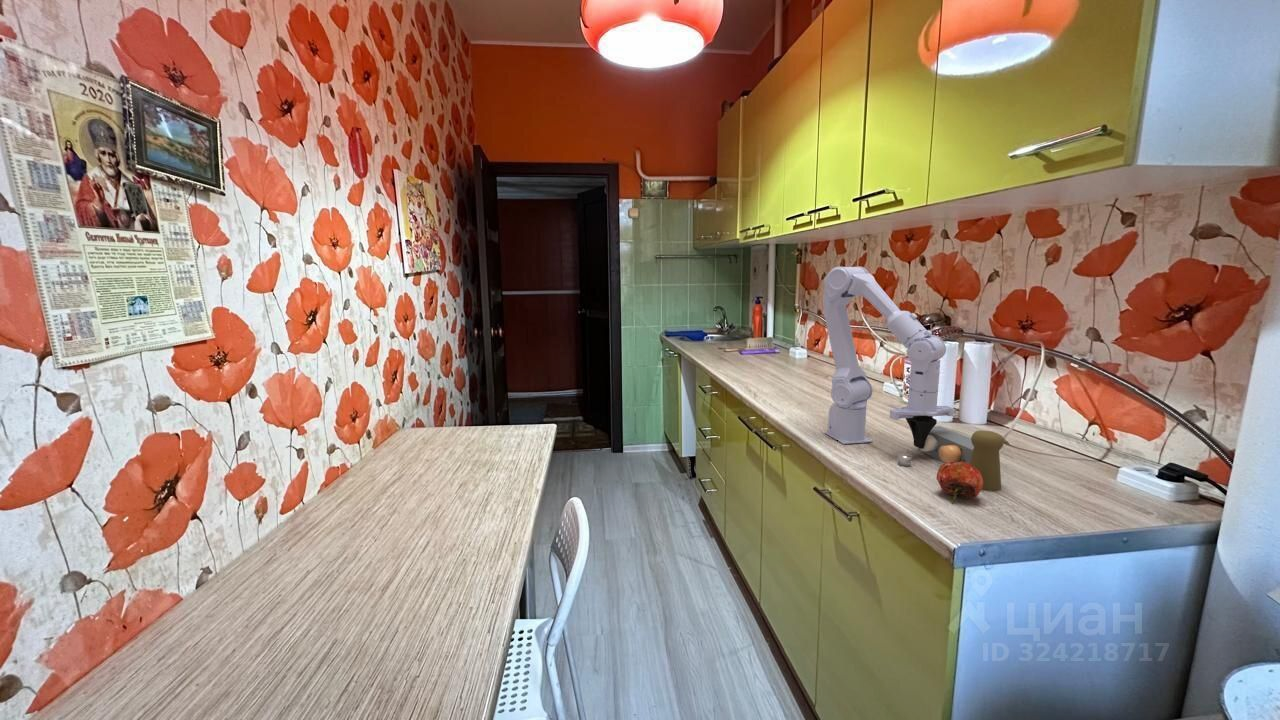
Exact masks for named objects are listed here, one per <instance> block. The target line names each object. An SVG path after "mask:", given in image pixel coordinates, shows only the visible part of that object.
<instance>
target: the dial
mask: <svg viewBox="0 0 1280 720" xmlns="http://www.w3.org/2000/svg"><path fill="white" fill-rule="evenodd" d="M897 456H898V457H897V465H898V466H899V465H900V467H902V466H903V468H910V467H912V459H913V457H912V455H911V454H908V453H899V454H898V455H897Z"/></svg>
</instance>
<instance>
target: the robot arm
mask: <svg viewBox="0 0 1280 720" xmlns="http://www.w3.org/2000/svg"><path fill="white" fill-rule="evenodd" d="M823 284H824V293H823V298H822V309H823V315H824V318H825V323H826V329H827V333H828V338H829V343H830V347H831V351H832V357H833V363H834V365H835V367H834V368H835V372H834V373H833V375H832V377H831V390H830V396H831V398H832V401H833V403H831V405H830V407H829V409H828V419H827V420H828V422H827V424H828V425H827V430H826V431H824V434H826V435H827V436H830V437H831V438H832V439H834V440H836V441H837V440H838V442H839V443H841V444H843V445H850V444H851V445H852V444H863V443H872V442H873V440H872V438H869V437H867V436H866V421H867V404H868V400H869V399H870V398H871V397H872V395H873V393H874V391H873V386H872V383H871V382H870V381H869V379H868V377H867V373H866V371H865V370H863V368H861V367H860V365H859V361H858V356H857V352H856V348H855V343H854V338H853V332H852V329H851V328H852V327H851V324H850V323H851V322H850V319H849V314H848V309H847V306H848V304H849V303H850V302H851V300H852V299H853V298H854V297H855V296H857V297H858V296H859V297H862V298H864V299H865V300H867V302H868V303H870V304H871V305H872V307H874V309H876V310H877V311H878V312H879V313H880V314H881V316H883V317H884V318H885V319H886V320H887V322H886V328H887V329H888V330H889V331H890V333H892V334H893V336H894V337H895V338H896V339H897V340H898V341H899V342H900V343H901V344H902V346H904V348H905V350H906V356H907V358H908V360H910V371H909V383H908V384H909V385H908V399H907V406H902V407H898V408H891V409H889V418H890V419H892V420H897V421H898V420H899V419H905V420H906V422H907V424H908V425H909V428H910V431H911V434H912V438H913V439H912V440H913V446H914V447H916V448H917V449H918V448H920V449H923V448H924V445H925V441H926V439H927V436H928V434H929V433H930V431H931V430H932V428H933V427H934V426H937V422H938V420H937V419H936V418H934V417H942V416H947V417H953V416H954V409H955V408H954V407H952V406H949V405H938V395H939V383H940V374H941V373H940V372H941V371H940V369H941V359H943V357H944V356H945V355H946V352H947V347H946V344H945V342H944V341H943V338H942V337H940V336H938V335H934V334H933V332H932V331H931V330H930V329H928V330H927V329H926V328H925V327H924V326H923V324H921V322H920V321H919V320H918V319H917V318H918V315H917V314H916V313H915V312H912V313H911V312H910V311H908V310H900V308H899V306H897V305H896V303H894V302H893V300H892V299H891V298H890V296H889V295H888V294H887V292H886V291H884V289H883V288H882V287H881V285H879V284H878V282H877V281H876V279H875V277H874V275H872V274H871V273H869V271H868V270H867V269H866V268H865V267H863V266H859V265H858V266H834V267H833V268H832V269H831V270H830V271H829V272H828V273H827V275H826V276H825V278H824V279H823ZM932 334H933V335H932Z"/></svg>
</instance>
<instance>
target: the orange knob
mask: <svg viewBox="0 0 1280 720" xmlns="http://www.w3.org/2000/svg"><path fill="white" fill-rule="evenodd" d="M939 456H940V458H941V460H942V461H941V460H940V461H941V462H943V463H949V462H959V461H960V460H961V458H962V449H961V448H959V447H958V446H956V445H948V446H941V447H940V449H939Z"/></svg>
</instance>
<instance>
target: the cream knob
mask: <svg viewBox="0 0 1280 720" xmlns="http://www.w3.org/2000/svg"><path fill="white" fill-rule="evenodd" d="M937 448H938V439H937V438H936V437H935V436H933V435H928V436H927V439H926V441H925V445H924V448H923V449H920V448H919V449H920V450H921V451H920V450H919V451H920V452H922V451H935V450H937Z"/></svg>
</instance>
